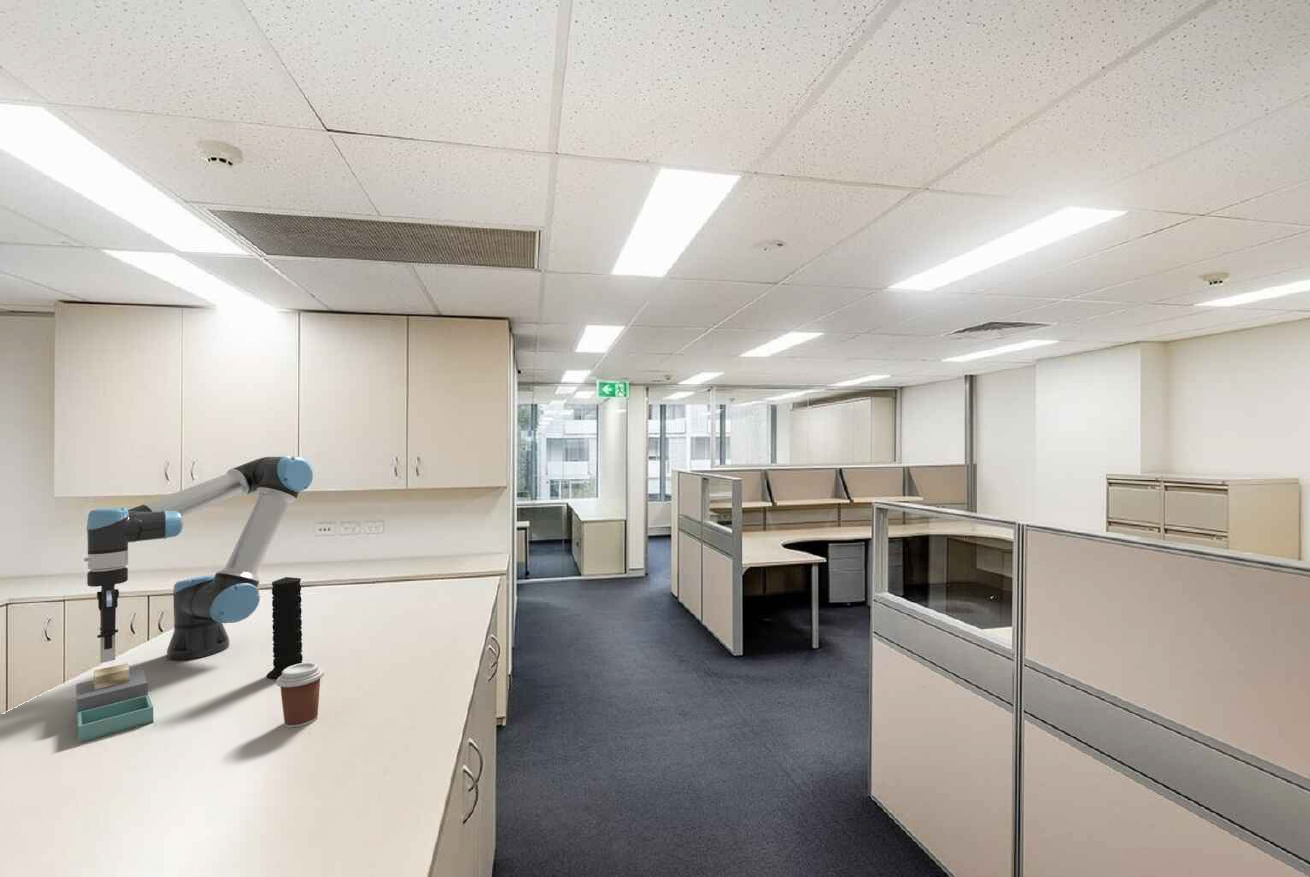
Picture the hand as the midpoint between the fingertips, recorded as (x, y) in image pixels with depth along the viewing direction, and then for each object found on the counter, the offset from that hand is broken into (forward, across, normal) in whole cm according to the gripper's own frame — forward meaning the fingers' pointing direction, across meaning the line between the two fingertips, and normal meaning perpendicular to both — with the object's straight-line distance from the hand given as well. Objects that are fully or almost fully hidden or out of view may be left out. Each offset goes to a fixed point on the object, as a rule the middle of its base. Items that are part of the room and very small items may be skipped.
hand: (107, 660), depth 145 cm
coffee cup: (+9, +55, +29) cm, 63 cm away
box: (+9, +24, 0) cm, 25 cm away
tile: (+3, +10, 0) cm, 10 cm away
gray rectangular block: (+9, +11, 0) cm, 14 cm away
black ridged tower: (+9, +19, +35) cm, 41 cm away
